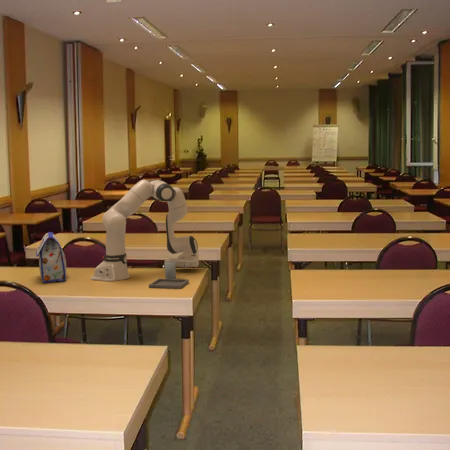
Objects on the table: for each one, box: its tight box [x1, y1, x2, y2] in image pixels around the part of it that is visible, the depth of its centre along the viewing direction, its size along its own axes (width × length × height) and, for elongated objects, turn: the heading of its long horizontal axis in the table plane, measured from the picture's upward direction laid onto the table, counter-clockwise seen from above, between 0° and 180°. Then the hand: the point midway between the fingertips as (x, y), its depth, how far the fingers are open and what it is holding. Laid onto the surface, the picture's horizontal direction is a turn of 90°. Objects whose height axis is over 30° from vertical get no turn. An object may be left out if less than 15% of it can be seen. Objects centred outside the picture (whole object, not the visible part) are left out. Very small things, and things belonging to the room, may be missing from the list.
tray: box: [148, 278, 190, 290], centre depth 351 cm, size 18×14×2 cm
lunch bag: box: [35, 231, 67, 284], centre depth 375 cm, size 23×17×27 cm
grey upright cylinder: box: [164, 261, 177, 279], centre depth 364 cm, size 6×6×10 cm
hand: (177, 265), depth 375 cm, fingers open, 8 cm apart
